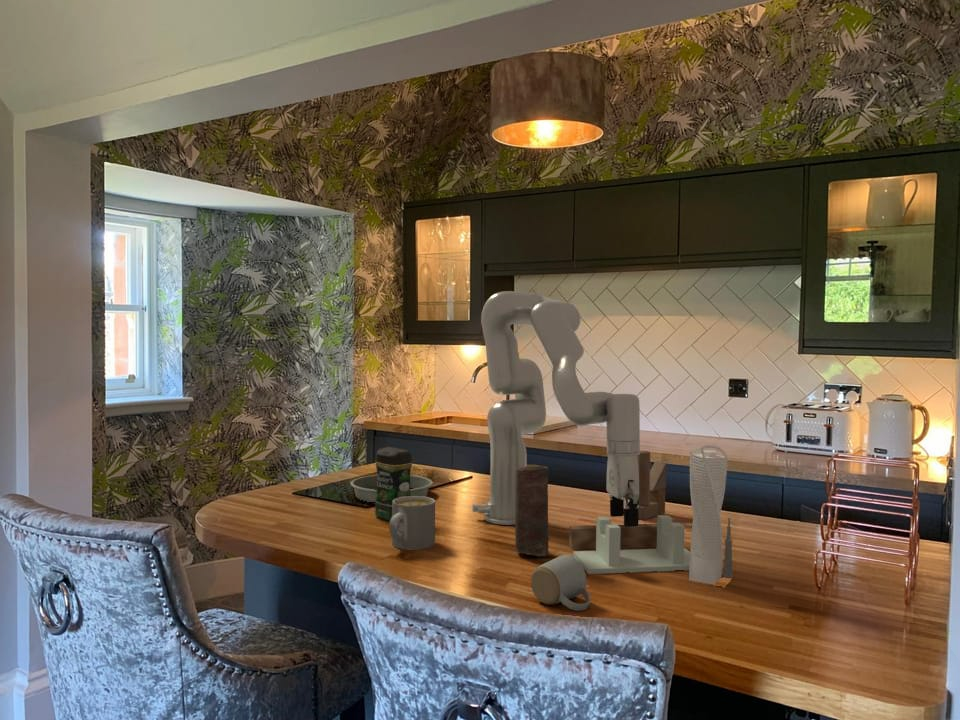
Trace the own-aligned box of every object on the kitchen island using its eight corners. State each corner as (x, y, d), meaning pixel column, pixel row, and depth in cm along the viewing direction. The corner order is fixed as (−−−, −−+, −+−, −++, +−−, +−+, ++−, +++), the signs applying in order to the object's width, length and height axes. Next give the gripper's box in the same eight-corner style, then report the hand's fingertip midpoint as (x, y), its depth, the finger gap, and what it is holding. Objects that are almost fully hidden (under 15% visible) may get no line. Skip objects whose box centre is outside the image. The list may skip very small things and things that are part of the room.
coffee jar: (369, 517, 191) (370, 447, 190) (392, 511, 197) (392, 444, 196) (394, 523, 185) (394, 451, 184) (416, 518, 190) (417, 448, 190)
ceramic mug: (527, 600, 133) (528, 559, 132) (554, 589, 139) (556, 550, 138) (572, 617, 125) (574, 574, 125) (600, 605, 131) (601, 564, 131)
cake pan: (429, 506, 204) (429, 491, 204) (342, 505, 204) (342, 489, 204) (435, 488, 229) (435, 474, 228) (358, 487, 229) (358, 472, 229)
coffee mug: (414, 534, 175) (414, 494, 174) (443, 543, 168) (444, 500, 168) (371, 546, 165) (372, 503, 164) (401, 556, 158) (401, 511, 158)
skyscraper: (723, 591, 139) (726, 447, 138) (681, 583, 143) (684, 444, 142) (733, 579, 146) (736, 442, 145) (693, 572, 150) (696, 439, 149)
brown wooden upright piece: (665, 514, 198) (666, 449, 197) (644, 520, 190) (645, 453, 189) (653, 511, 200) (655, 447, 200) (632, 518, 193) (633, 451, 192)
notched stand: (588, 573, 148) (589, 530, 147) (572, 555, 159) (573, 515, 159) (708, 569, 151) (709, 527, 151) (684, 552, 163) (685, 512, 163)
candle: (525, 561, 155) (526, 469, 154) (508, 552, 162) (509, 463, 161) (554, 556, 159) (556, 466, 158) (537, 547, 165) (538, 461, 164)
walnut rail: (571, 550, 164) (572, 528, 164) (568, 547, 167) (569, 526, 166) (671, 547, 168) (672, 526, 167) (667, 544, 170) (668, 523, 170)
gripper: (596, 443, 174) (597, 513, 174) (619, 453, 157) (620, 531, 157) (626, 442, 175) (626, 512, 175) (652, 452, 158) (653, 529, 158)
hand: (623, 521), depth 166 cm, fingers open, 9 cm apart
